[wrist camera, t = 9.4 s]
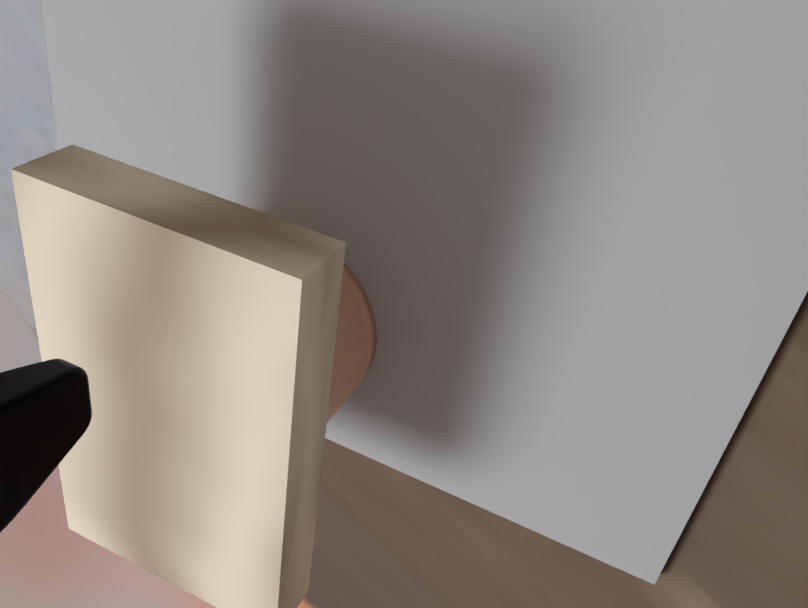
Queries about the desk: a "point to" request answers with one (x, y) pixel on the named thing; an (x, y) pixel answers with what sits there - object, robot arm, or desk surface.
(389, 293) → the desk mat
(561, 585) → the desk surface
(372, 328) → the bowl
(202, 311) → the lid board
